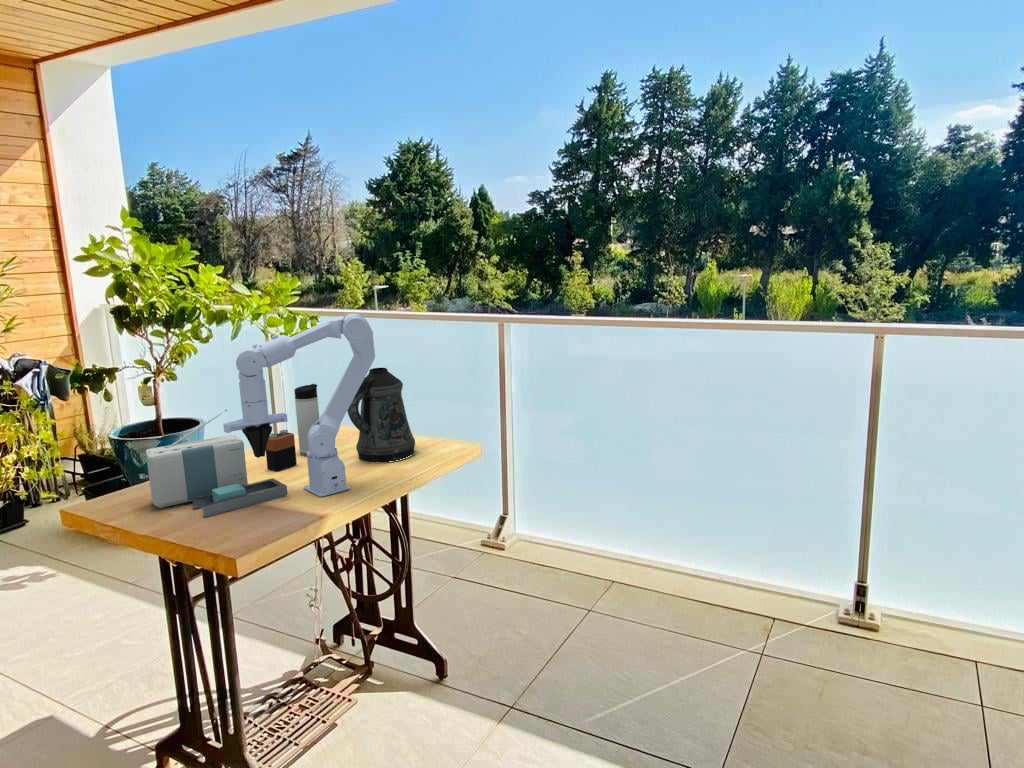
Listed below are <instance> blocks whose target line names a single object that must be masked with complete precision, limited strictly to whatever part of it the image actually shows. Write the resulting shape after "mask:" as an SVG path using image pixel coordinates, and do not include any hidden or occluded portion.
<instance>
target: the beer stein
mask: <svg viewBox="0 0 1024 768" xmlns="http://www.w3.org/2000/svg"><path fill="white" fill-rule="evenodd" d="M403 386H404V383H403V382H402V380H401V379H399V378H398V377H397V376H395V375H394V374H393V373H391V372H390V371H389V370H388V368H387V367H375V368H370V369H369V371H368V373H367V374H366V376H365V378H364V380H363V382H362V384H361V386H360V388H359V389H358V391H357V393H356V395H355V397H354V399H353V401H352V403H351V405H350V406H349V408H348V410H347V415H348V417H349V420H350V421H351V423H352V425H354V427H355V428H356V429H357V430H358V431H359V434H358V435H359V436H358V440H357V443H356V447H355V449H356V452H357V454H358V459H359V460H360V459H361V461H363V462H365V461H366V463H371V462H388V463H390V462H389V461H396V460H400V459H403V458H406V457H408V456H410V455H412V454H413V453H414V454H415V447H416V440H415V437H414V436H413V433H412V431H411V428H410V425H409V421H408V418H407V414H406V409H405V404H404V403H405V402H404V399H403V396H402V394H403V393H402V391H403ZM360 403H361V405H360ZM359 406H360V409H359ZM359 410H360V411H359ZM414 454H413V455H414ZM413 455H412V456H413ZM396 462H397V461H396Z"/></svg>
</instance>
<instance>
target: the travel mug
mask: <svg viewBox="0 0 1024 768" xmlns="http://www.w3.org/2000/svg"><path fill="white" fill-rule="evenodd" d="M317 388H318V384H316V383H311V384H305V385H301V386H298V387H296V388H294V389H293V390H294V403H295V405H294V406H295V412H296V416H295V417H296V424H297V425H296V426H297V434H298V435H297V436H298V445H299V446H298V448H299V454H300V456H303V457H307V452H308V451H309V448H308V438H307V433H308V430H309V428H310V427H311V426H312V425H314V424H315V423H316V422H317V421H318V420H319V418H320V411H319V410H320V409H319V399H318V389H317Z"/></svg>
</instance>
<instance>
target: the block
mask: <svg viewBox="0 0 1024 768" xmlns="http://www.w3.org/2000/svg"><path fill="white" fill-rule="evenodd" d="M245 494H246V490H245V488H244V487H242V486H241V485H239V484H234V485H229V486H225V487H221V488H216V489H212V497H213V502H217V501H221V500H225V499H229V498H233V497H237V496H241V495H245Z"/></svg>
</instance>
